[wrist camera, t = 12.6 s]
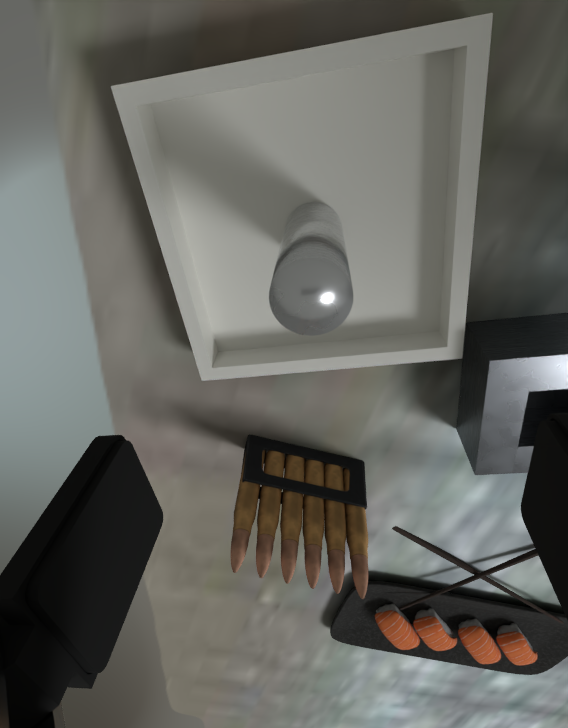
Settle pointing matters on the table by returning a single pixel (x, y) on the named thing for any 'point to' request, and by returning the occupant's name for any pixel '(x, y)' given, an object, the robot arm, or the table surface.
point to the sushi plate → (454, 623)
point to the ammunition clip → (320, 508)
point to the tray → (319, 192)
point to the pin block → (510, 388)
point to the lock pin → (312, 272)
